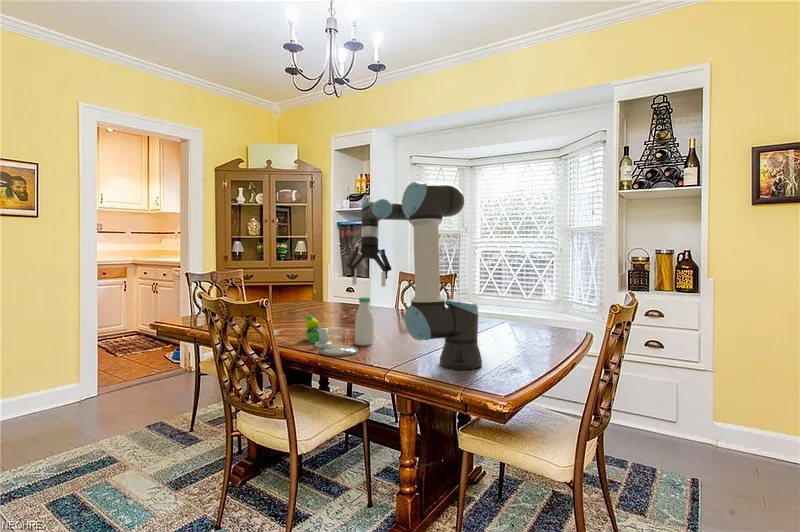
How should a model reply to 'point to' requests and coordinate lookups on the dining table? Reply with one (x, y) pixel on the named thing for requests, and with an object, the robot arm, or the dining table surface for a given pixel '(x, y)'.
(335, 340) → the dining table surface
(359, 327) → the milk bottle
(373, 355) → the dining table surface
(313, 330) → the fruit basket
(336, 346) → the grey plate
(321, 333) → the small pipe fitting
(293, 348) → the dining table surface
